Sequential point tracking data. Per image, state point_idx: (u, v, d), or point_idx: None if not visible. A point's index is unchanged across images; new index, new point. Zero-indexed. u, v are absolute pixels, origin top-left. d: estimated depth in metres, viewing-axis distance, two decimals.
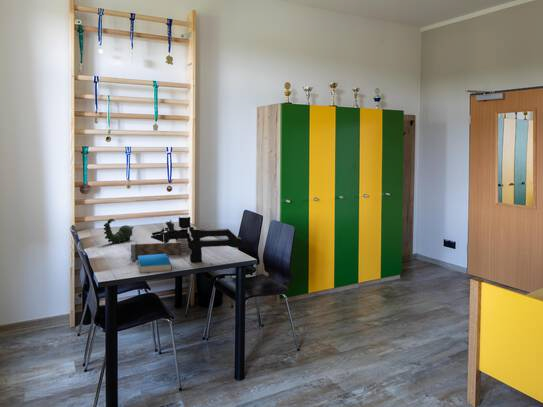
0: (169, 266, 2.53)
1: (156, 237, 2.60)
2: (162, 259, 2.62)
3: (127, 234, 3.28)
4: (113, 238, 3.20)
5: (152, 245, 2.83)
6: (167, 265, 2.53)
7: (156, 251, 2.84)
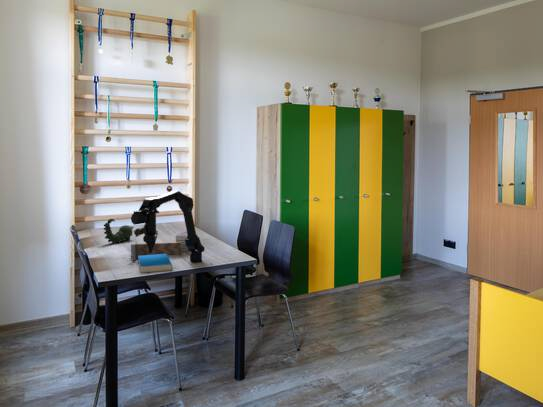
0: (170, 266, 2.53)
1: (150, 247, 2.38)
2: (162, 259, 2.62)
3: (127, 234, 3.28)
4: (113, 238, 3.20)
5: None
6: (168, 265, 2.53)
7: (156, 251, 2.84)
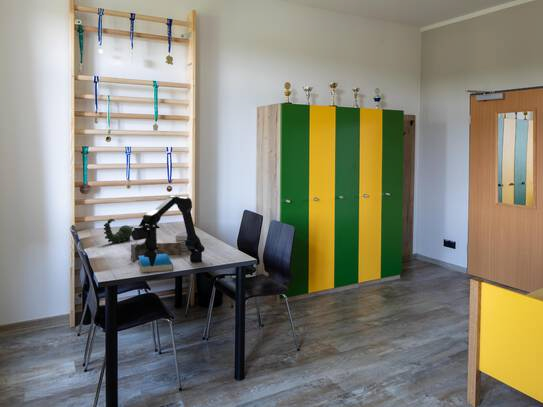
0: (170, 266, 2.53)
1: (152, 261, 2.43)
2: (163, 259, 2.62)
3: (127, 234, 3.28)
4: (113, 238, 3.20)
5: None
6: (168, 265, 2.53)
7: None
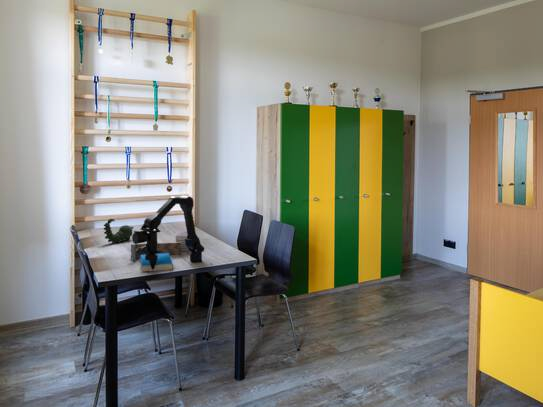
0: (170, 265, 2.54)
1: (153, 264, 2.49)
2: (164, 258, 2.64)
3: (127, 234, 3.28)
4: (113, 238, 3.20)
5: None
6: (168, 264, 2.54)
7: None
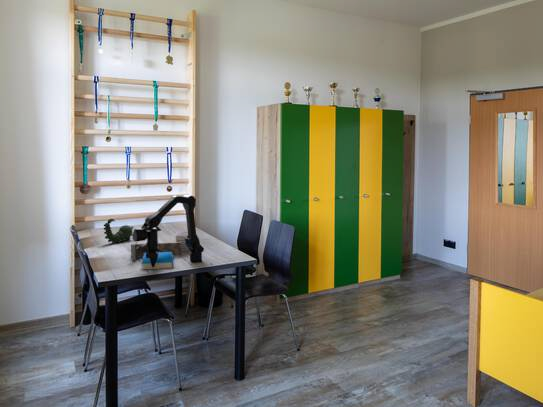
0: (170, 264, 2.58)
1: (153, 262, 2.53)
2: (165, 257, 2.68)
3: (127, 234, 3.28)
4: (113, 238, 3.20)
5: None
6: (168, 263, 2.57)
7: (156, 251, 2.84)
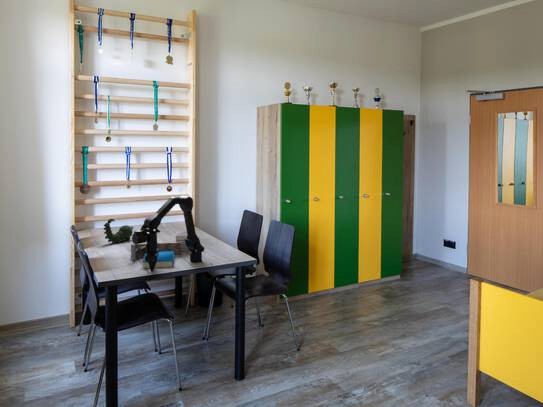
0: (170, 263, 2.60)
1: (152, 266, 2.44)
2: (166, 256, 2.70)
3: (127, 234, 3.28)
4: (113, 238, 3.20)
5: None
6: (168, 262, 2.60)
7: None
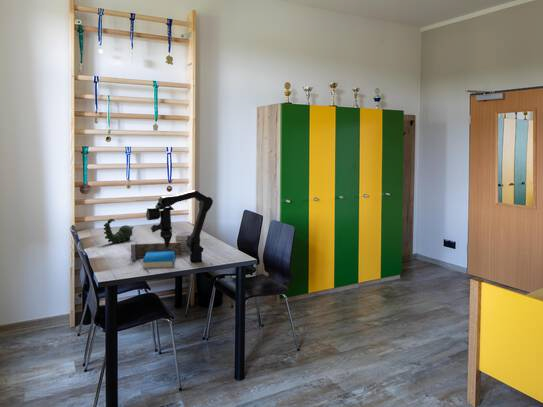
0: (170, 263, 2.60)
1: (167, 242, 2.56)
2: (167, 256, 2.70)
3: (127, 234, 3.28)
4: (113, 238, 3.20)
5: (152, 245, 2.83)
6: (169, 262, 2.60)
7: (156, 251, 2.84)
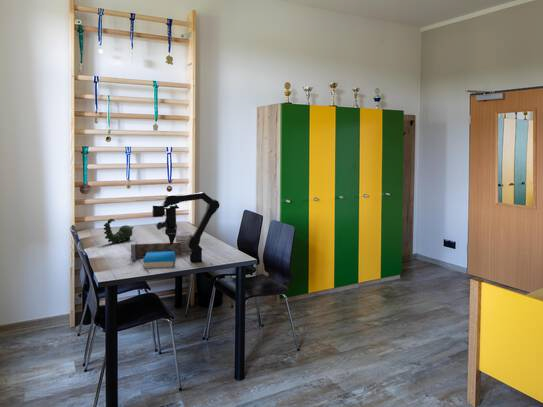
0: (171, 263, 2.60)
1: (171, 239, 2.60)
2: (167, 256, 2.70)
3: (127, 234, 3.28)
4: (113, 238, 3.20)
5: (152, 245, 2.83)
6: (169, 262, 2.60)
7: (156, 251, 2.84)
